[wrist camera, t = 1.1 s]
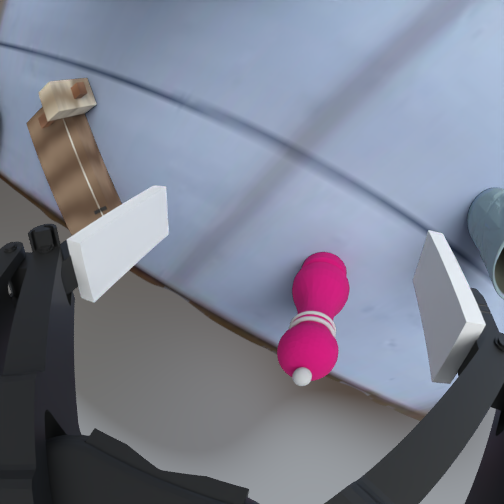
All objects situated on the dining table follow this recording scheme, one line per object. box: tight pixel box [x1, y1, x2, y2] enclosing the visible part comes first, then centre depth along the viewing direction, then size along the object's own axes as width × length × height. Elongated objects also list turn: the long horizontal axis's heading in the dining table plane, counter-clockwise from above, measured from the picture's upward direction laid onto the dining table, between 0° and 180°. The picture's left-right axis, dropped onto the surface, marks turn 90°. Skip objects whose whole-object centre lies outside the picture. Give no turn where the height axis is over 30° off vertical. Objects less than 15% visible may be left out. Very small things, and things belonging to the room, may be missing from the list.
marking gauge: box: [38, 78, 97, 129], centre depth 39 cm, size 5×11×8 cm, turn 111°
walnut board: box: [27, 107, 122, 236], centre depth 46 cm, size 24×12×3 cm, turn 21°
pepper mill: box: [277, 252, 349, 386], centre depth 35 cm, size 7×7×20 cm
